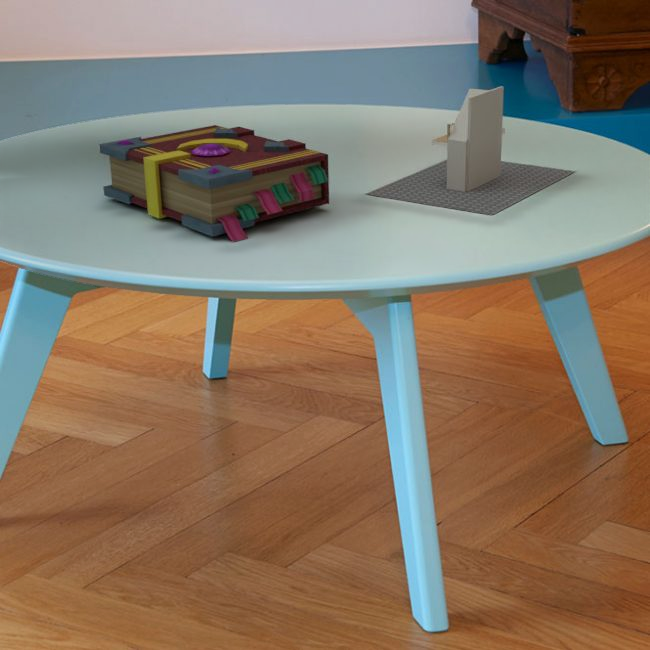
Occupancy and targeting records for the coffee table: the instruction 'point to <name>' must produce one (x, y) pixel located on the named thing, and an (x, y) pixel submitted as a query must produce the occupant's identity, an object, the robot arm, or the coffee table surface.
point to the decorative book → (217, 177)
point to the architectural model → (474, 164)
